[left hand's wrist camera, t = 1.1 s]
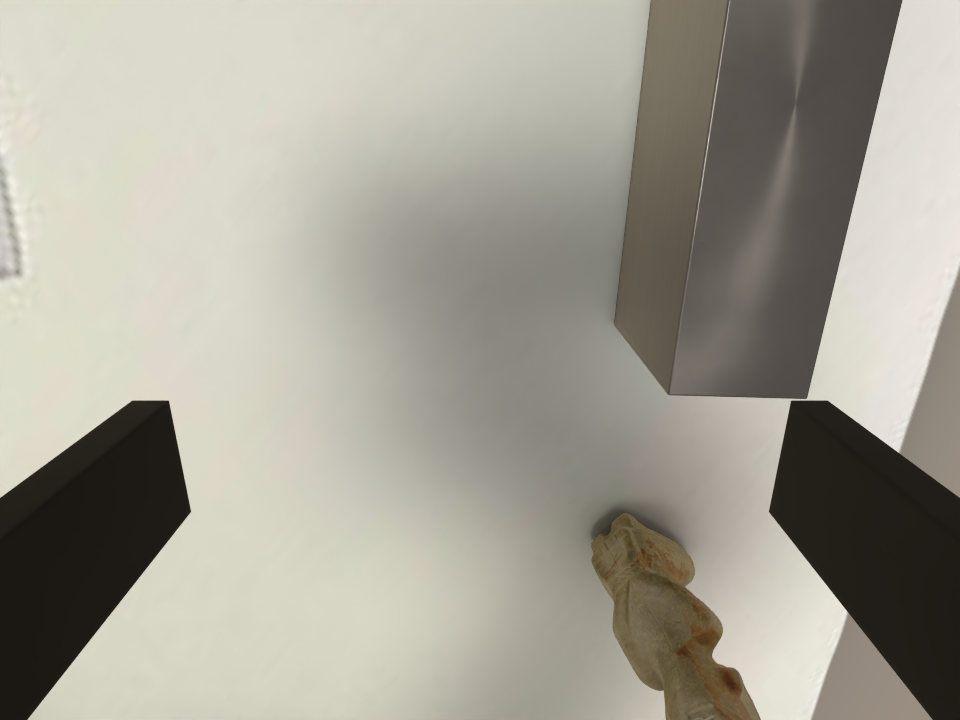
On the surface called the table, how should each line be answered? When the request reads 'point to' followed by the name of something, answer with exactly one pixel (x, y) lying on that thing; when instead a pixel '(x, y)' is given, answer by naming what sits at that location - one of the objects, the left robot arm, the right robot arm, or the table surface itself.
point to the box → (746, 186)
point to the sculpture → (667, 624)
